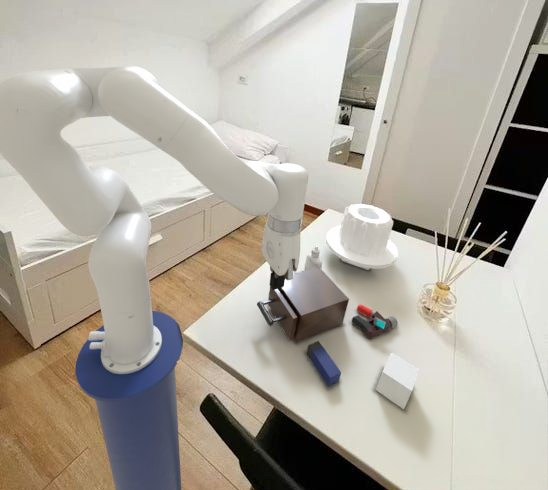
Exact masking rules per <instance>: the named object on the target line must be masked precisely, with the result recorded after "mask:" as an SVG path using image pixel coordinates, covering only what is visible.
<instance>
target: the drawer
mask: <svg viewBox="0 0 548 490" xmlns="http://www.w3.org/2000/svg"><path fill="white" fill-rule="evenodd" d="M268 292H269V294H268V299H267V300H265V301H261V300H260V301H257V302H256V306H257V308H258V309H259V311H260V314H262V316H263V318H264V320H265V321H266V324H267V325H268V326H269V327H272V326H273V325H274V324H275V323H278V324H279V326H280V327H281V329H282V330H283V332H284V334H285V335H286V337H287V339H288V340H289V341H292V340H294V335H295V332H296V331H297V325H298V320H299V315H298V313H297V312H296V310H295V309H294V307H293V306H292V305H291V303H290V302H289V300H288V299H287V297H286V296H285V295H284V293H283V292H282V290H281V289H280V288H279V290H278V289H275V290H272V288H271V287H270V286H269V290H268ZM266 305H267V306H268V308H269V309H270V311H271V312H272V314H273V316H274V317H275V318H272V317H271V314H269V312H268V310H267V309H266V307H265V306H266Z"/></svg>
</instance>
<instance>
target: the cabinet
mask: <svg viewBox="0 0 548 490" xmlns="http://www.w3.org/2000/svg"><path fill="white" fill-rule="evenodd" d="M280 289H281V290H282V292H283V293H284V295H285V296H286V297H287V299H288V300H289V302H290V303H291V305H292V306H293V307H294V309H295V310H296V312H297V313H298V315H299V320H298V325H297V331H296V332H295V335H294V339H293V340H294V342H295V343H300V342H303V341H304V340H308V339H310V338H312V337H315V336H317V335H320V334H322V333H325V332H327V331H330V330H333V329H336V328H337V327H341V326H342V325H343V323H344V319H345V317H346V312H347V309H348V305H349V301H350V298H349V297H348V296H347V294H346V293H344V292H343V291H342V290H341V289H340V287H338V285H337V284H336V283H335V282H334V281H333V280H332V279H331V278H330V276H328V274H326V272H324V271H323V269H322V268H321V269H320V267H317V268H313V269H309V270H305V271H304V270H302V271H297V272H295V273H294V272H293V279H292V280H289V281H287V280H286V279H285V283H284V287H282V288H280ZM278 290H279V288H278Z"/></svg>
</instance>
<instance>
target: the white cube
mask: <svg viewBox="0 0 548 490" xmlns="http://www.w3.org/2000/svg"><path fill="white" fill-rule="evenodd" d="M419 372H420V369H419V367H416V366H415V365H413V364H411V363H409V362H408V361H407V360H405V359H403V358H402V357H400V356H398V355H397V354H395V353H393V352H390V354H389V356H388V359H387V360H386V363H385V365H384V367H383V369H382V372H381V374H380V377H379V380H378V383H377V385H376V388H375V391H377V392H378V393H380V394H381V395H382V396H384V398H387V399H388V400H389V401H391V402H392V403H394V404H395V405H397V407H399V408H401V409H402V410H405V408H406V406H407V404H408V401H409V399H410V397H411V394H412V392H413V390H414V386H415V383H416V380H417V378H418V374H419Z"/></svg>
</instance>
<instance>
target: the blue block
mask: <svg viewBox="0 0 548 490" xmlns="http://www.w3.org/2000/svg"><path fill="white" fill-rule="evenodd" d="M306 355H307V357H308V358H309V360H310V361H311V363H312V365H313V366H314V368H315V369H316V371H317V372H318V374H319V376H320V377H321V379H322V380H323V382H324V383H325V385H326V387H327V388H329V387H331V386H333V385H335V384H337V383H339V381H340V379H341V376H342V375H341V374H342V372H341V370H340V369H339V367H338V366H337V364H336V363H335V362H334V360H333V359H332V357H331V356H330V354H329V353H328V352H327V350H326V349H325V347H324V345H322V343H321V342H320V341H319V340H316V341H315V342H312V343H310V344H308V345H307V350H306Z"/></svg>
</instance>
